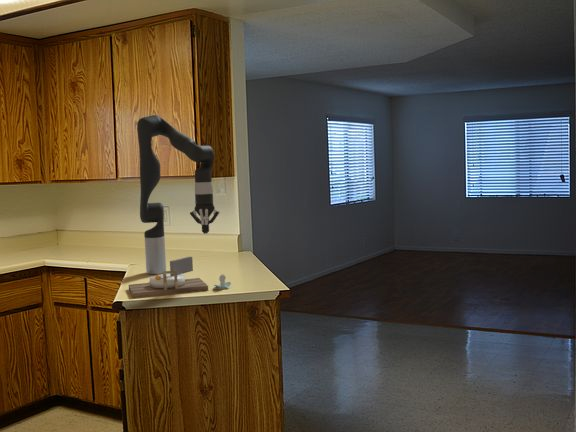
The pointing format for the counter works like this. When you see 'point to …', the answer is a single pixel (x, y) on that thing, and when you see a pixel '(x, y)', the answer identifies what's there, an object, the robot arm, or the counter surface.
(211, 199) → the robot arm
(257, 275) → the counter surface
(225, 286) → the pacifier
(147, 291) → the stand
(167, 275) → the cam foot
